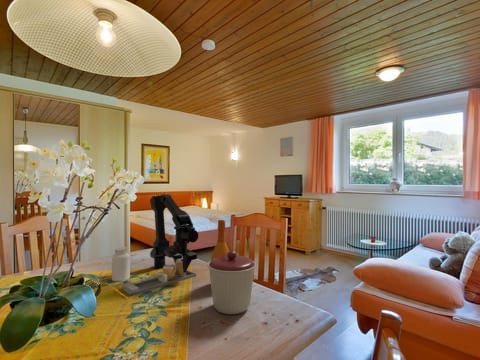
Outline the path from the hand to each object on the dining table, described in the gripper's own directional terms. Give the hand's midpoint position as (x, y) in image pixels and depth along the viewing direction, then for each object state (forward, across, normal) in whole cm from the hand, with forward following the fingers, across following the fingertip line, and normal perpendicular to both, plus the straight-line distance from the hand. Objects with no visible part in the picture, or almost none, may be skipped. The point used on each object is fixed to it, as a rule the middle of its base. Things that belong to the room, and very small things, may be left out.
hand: (181, 271), depth 129 cm
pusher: (+2, 0, -15) cm, 15 cm away
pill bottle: (+4, -19, -22) cm, 29 cm away
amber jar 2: (+1, 0, 0) cm, 1 cm away
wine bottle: (+4, +22, +6) cm, 23 cm away
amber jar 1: (+3, 0, -7) cm, 7 cm away
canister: (+4, +40, -4) cm, 41 cm away
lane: (+3, 0, -10) cm, 11 cm away
